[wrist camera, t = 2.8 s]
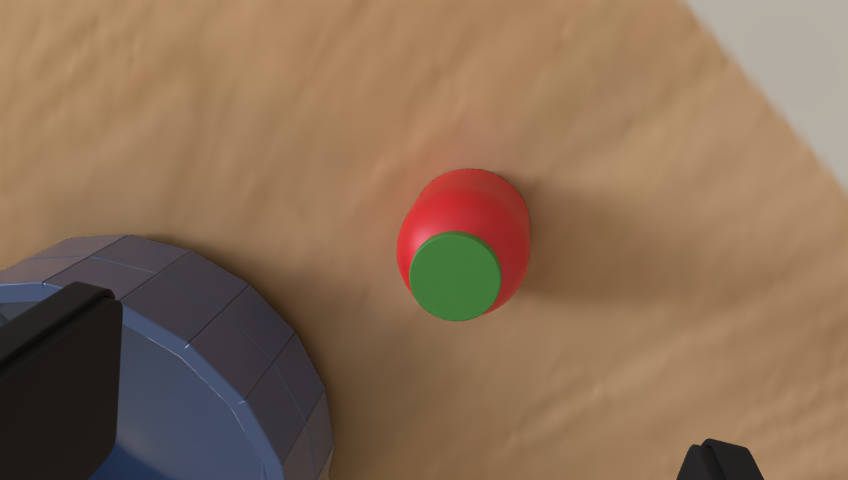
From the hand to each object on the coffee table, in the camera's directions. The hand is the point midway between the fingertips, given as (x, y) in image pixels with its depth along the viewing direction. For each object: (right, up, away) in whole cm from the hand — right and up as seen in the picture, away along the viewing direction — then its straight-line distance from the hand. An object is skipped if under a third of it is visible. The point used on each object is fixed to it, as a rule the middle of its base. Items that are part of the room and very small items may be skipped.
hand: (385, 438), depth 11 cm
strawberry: (+2, +4, +11) cm, 12 cm away
